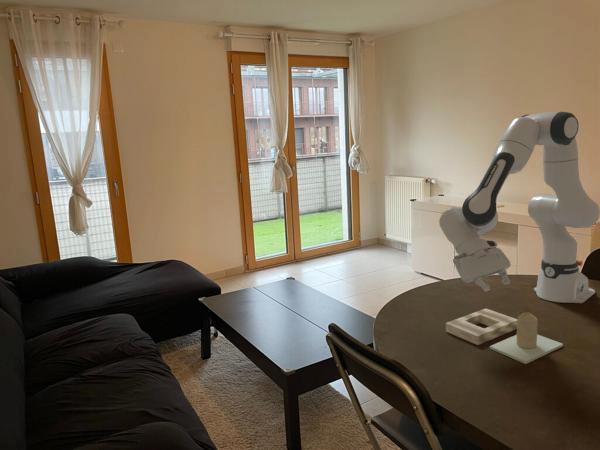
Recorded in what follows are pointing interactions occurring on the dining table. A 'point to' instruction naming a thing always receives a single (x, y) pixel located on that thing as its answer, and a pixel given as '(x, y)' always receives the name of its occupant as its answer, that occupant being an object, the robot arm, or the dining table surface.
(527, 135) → the robot arm
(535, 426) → the dining table surface
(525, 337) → the candle
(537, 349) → the sage mat
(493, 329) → the socket block
